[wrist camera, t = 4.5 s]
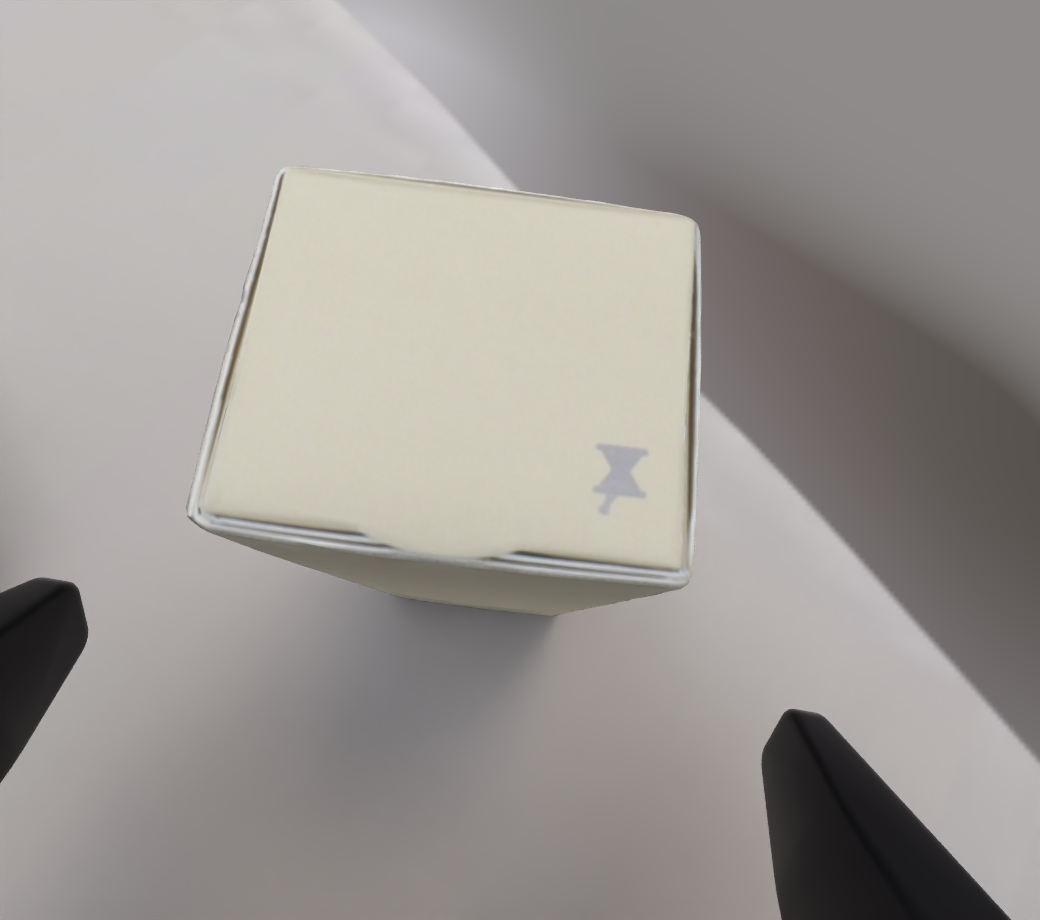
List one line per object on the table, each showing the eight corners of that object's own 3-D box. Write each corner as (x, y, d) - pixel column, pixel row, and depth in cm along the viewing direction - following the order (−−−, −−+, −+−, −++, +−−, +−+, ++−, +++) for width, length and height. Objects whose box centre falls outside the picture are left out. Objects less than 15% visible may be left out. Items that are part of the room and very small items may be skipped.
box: (572, 475, 20) (738, 204, 7) (558, 621, 18) (729, 599, 6) (401, 453, 19) (268, 136, 7) (376, 600, 18) (163, 532, 6)
